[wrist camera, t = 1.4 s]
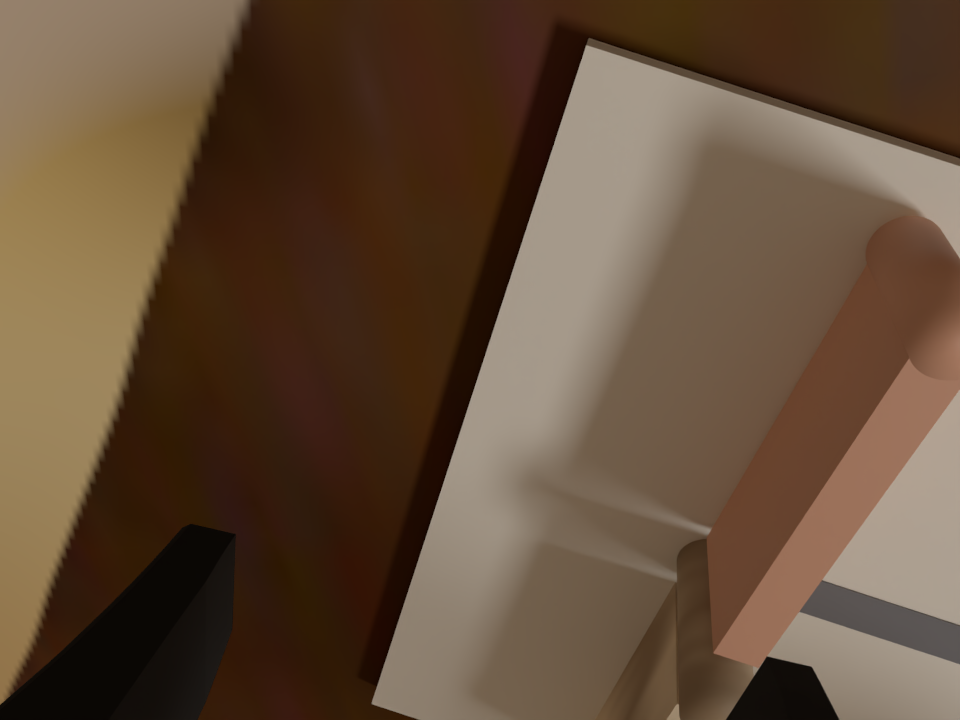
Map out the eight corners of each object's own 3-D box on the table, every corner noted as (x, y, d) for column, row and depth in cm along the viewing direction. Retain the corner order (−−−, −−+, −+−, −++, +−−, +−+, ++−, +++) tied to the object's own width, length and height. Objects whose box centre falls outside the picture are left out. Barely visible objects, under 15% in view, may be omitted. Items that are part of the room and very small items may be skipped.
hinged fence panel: (753, 553, 21) (767, 671, 18) (698, 534, 21) (704, 650, 18) (960, 229, 16) (1024, 320, 13) (889, 206, 16) (937, 292, 13)
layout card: (1497, 333, 16) (1526, 350, 16) (909, 862, 28) (914, 883, 28) (588, 38, 17) (585, 45, 16) (376, 688, 28) (371, 705, 28)
